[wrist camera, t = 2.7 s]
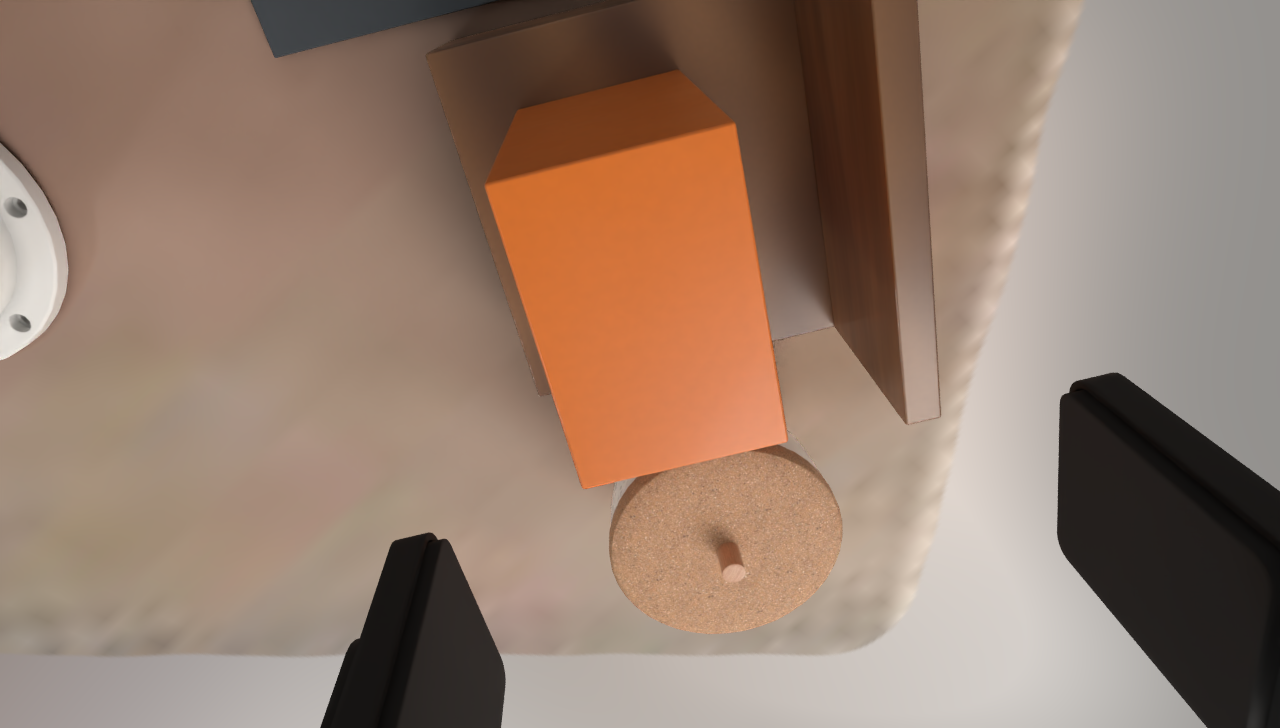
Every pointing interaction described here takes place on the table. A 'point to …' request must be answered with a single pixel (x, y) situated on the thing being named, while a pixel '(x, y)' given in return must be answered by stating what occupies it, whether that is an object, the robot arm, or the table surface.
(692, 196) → the block
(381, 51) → the table surface
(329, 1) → the mat
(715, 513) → the trinket box
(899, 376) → the wooden toy chair
